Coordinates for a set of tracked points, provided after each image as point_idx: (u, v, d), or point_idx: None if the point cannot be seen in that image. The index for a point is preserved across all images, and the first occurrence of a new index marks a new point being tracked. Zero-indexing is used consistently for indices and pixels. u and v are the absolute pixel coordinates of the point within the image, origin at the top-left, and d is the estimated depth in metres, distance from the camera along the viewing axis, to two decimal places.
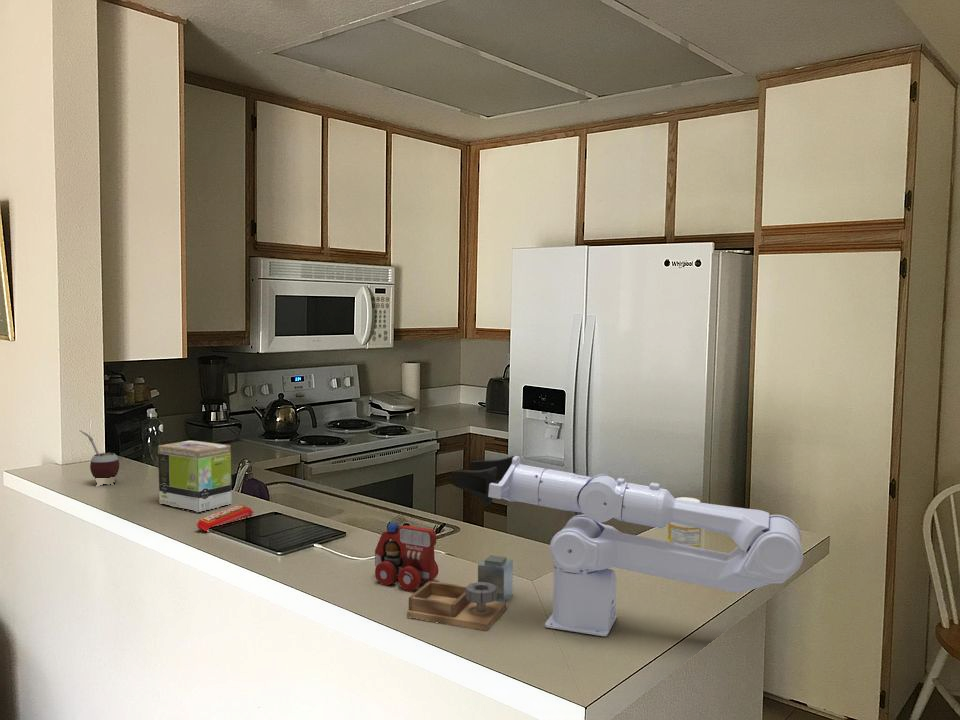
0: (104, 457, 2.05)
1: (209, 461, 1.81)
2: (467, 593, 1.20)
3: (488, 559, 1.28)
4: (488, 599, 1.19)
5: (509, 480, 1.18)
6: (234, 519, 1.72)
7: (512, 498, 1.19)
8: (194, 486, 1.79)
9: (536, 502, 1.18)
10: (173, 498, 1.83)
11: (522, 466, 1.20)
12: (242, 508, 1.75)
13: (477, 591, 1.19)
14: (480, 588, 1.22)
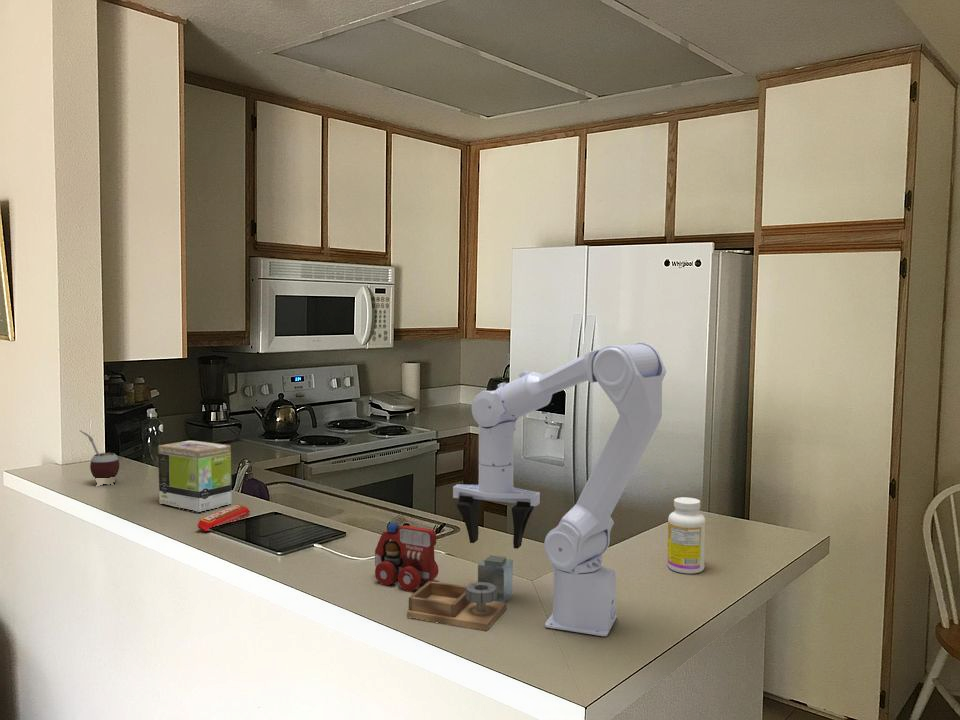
0: (104, 457, 2.05)
1: (209, 461, 1.81)
2: (467, 593, 1.20)
3: (488, 559, 1.28)
4: (488, 599, 1.19)
5: None
6: (233, 519, 1.72)
7: (480, 489, 1.26)
8: (194, 486, 1.79)
9: (480, 465, 1.26)
10: (173, 498, 1.83)
11: None
12: (240, 507, 1.76)
13: (477, 591, 1.19)
14: (480, 588, 1.22)
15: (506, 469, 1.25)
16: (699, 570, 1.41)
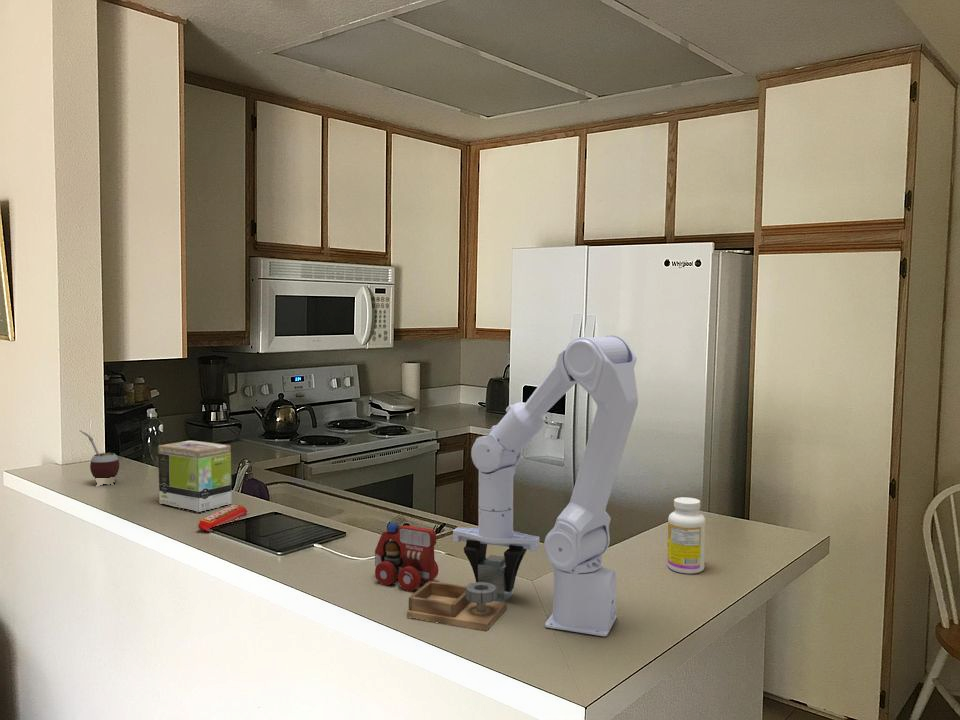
0: (104, 457, 2.05)
1: (209, 461, 1.81)
2: (467, 593, 1.20)
3: (488, 559, 1.28)
4: (488, 599, 1.19)
5: None
6: (232, 518, 1.72)
7: (480, 534, 1.27)
8: (194, 486, 1.79)
9: (480, 510, 1.27)
10: (173, 498, 1.83)
11: None
12: (238, 507, 1.76)
13: (477, 591, 1.19)
14: (480, 588, 1.22)
15: (506, 514, 1.26)
16: (699, 570, 1.41)
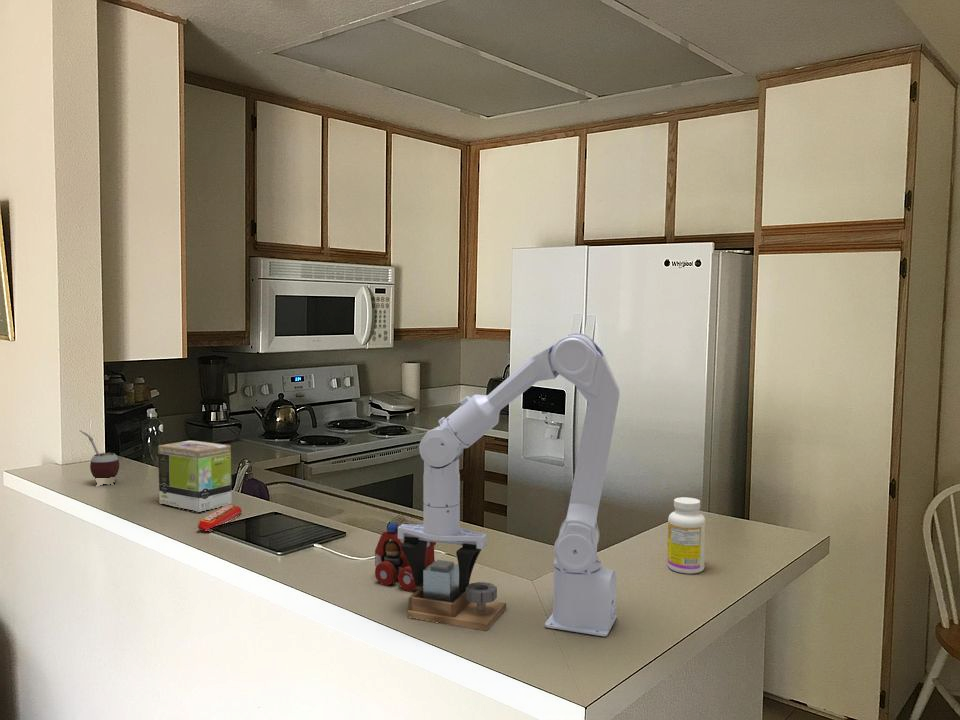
0: (104, 457, 2.05)
1: (209, 461, 1.81)
2: (467, 593, 1.20)
3: (434, 564, 1.22)
4: (488, 599, 1.19)
5: None
6: (229, 518, 1.72)
7: (425, 531, 1.21)
8: (194, 486, 1.79)
9: (424, 506, 1.21)
10: (173, 498, 1.83)
11: None
12: (233, 507, 1.76)
13: (477, 591, 1.19)
14: (480, 588, 1.22)
15: (451, 510, 1.20)
16: (699, 570, 1.41)
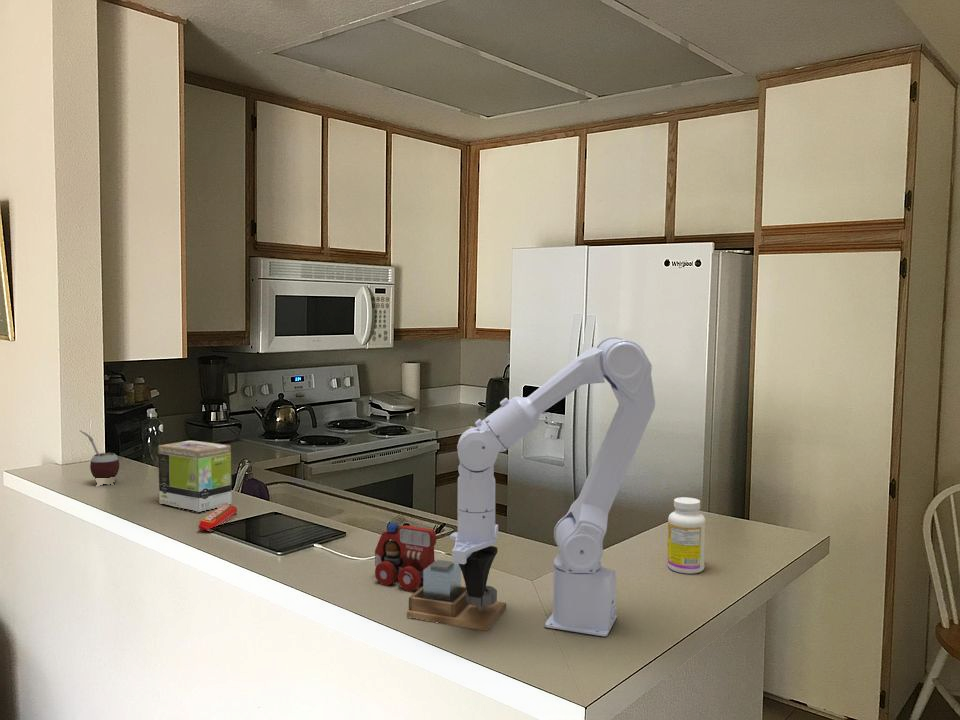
0: (104, 457, 2.05)
1: (209, 461, 1.81)
2: (467, 596, 1.20)
3: (434, 564, 1.22)
4: (488, 602, 1.19)
5: (463, 542, 1.16)
6: (227, 518, 1.72)
7: (484, 540, 1.15)
8: (194, 486, 1.79)
9: (484, 514, 1.15)
10: (173, 498, 1.83)
11: None
12: (230, 507, 1.76)
13: None
14: None
15: None
16: (699, 570, 1.41)
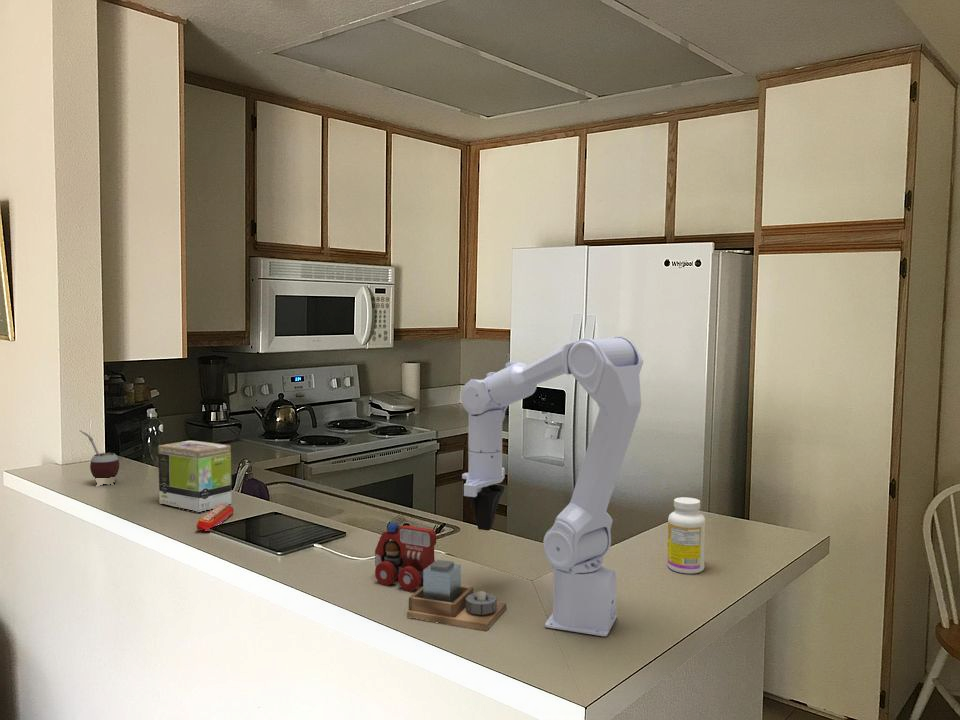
0: (104, 457, 2.05)
1: (209, 461, 1.81)
2: (467, 604, 1.20)
3: (434, 564, 1.22)
4: (488, 610, 1.19)
5: (474, 479, 1.29)
6: (225, 518, 1.72)
7: (493, 477, 1.29)
8: (194, 486, 1.79)
9: (492, 454, 1.29)
10: (173, 497, 1.83)
11: None
12: (226, 507, 1.76)
13: (477, 602, 1.19)
14: None
15: None
16: (699, 570, 1.41)
